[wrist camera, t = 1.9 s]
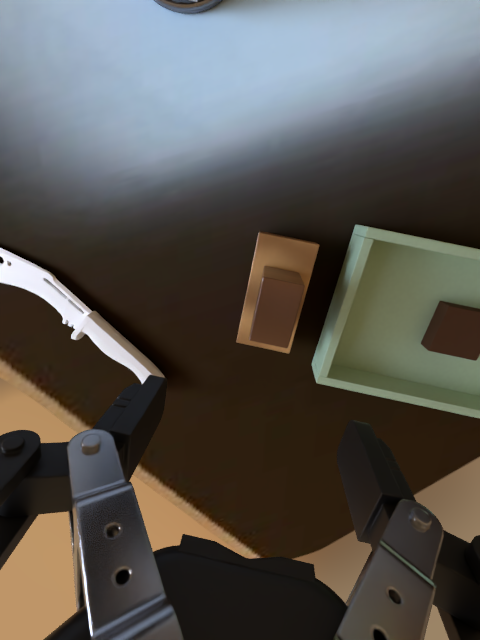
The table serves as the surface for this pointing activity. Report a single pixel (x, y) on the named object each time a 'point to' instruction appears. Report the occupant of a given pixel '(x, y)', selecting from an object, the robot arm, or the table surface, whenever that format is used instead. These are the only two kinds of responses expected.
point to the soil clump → (454, 331)
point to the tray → (399, 321)
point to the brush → (276, 291)
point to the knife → (75, 313)
